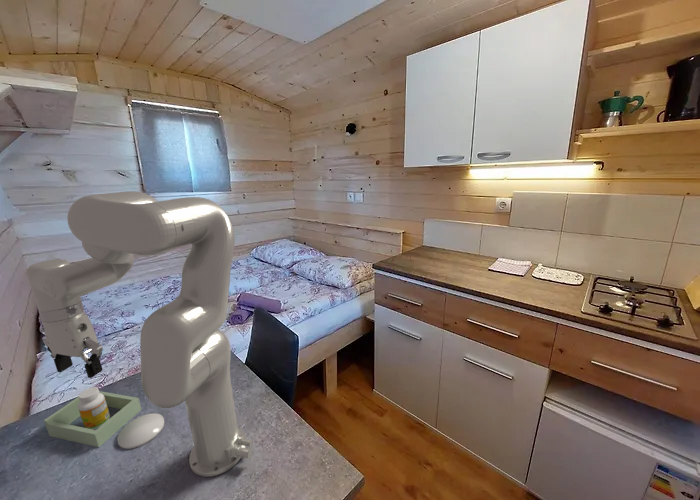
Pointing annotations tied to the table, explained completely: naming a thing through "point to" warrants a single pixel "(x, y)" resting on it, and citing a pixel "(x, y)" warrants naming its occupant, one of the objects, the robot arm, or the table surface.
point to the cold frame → (70, 412)
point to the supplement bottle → (93, 408)
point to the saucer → (140, 431)
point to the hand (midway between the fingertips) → (80, 371)
